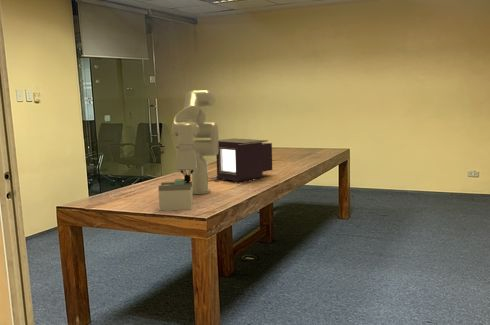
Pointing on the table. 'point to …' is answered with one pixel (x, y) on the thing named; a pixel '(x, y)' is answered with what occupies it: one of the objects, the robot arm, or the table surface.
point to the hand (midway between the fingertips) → (187, 182)
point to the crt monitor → (243, 159)
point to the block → (175, 196)
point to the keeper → (179, 182)
